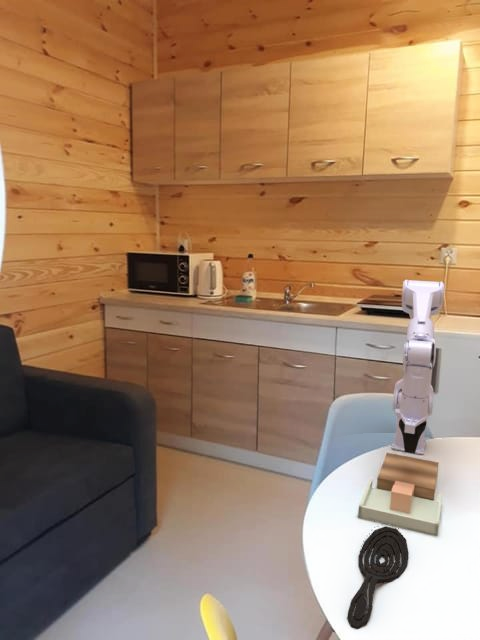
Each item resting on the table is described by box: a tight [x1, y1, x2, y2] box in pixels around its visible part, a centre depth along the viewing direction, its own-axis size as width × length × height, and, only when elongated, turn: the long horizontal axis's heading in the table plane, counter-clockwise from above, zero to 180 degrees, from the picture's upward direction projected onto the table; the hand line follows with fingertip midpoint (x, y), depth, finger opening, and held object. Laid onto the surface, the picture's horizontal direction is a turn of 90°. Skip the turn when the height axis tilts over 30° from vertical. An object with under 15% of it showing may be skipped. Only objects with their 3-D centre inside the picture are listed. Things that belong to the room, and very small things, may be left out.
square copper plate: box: [376, 452, 439, 501], centre depth 124 cm, size 14×12×3 cm
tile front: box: [390, 485, 413, 514], centre depth 112 cm, size 4×4×3 cm
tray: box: [357, 478, 443, 537], centre depth 112 cm, size 13×15×2 cm
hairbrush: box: [346, 523, 410, 630], centre depth 91 cm, size 8×4×25 cm
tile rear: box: [394, 481, 415, 502], centre depth 116 cm, size 4×4×3 cm
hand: (410, 451), depth 121 cm, fingers closed
